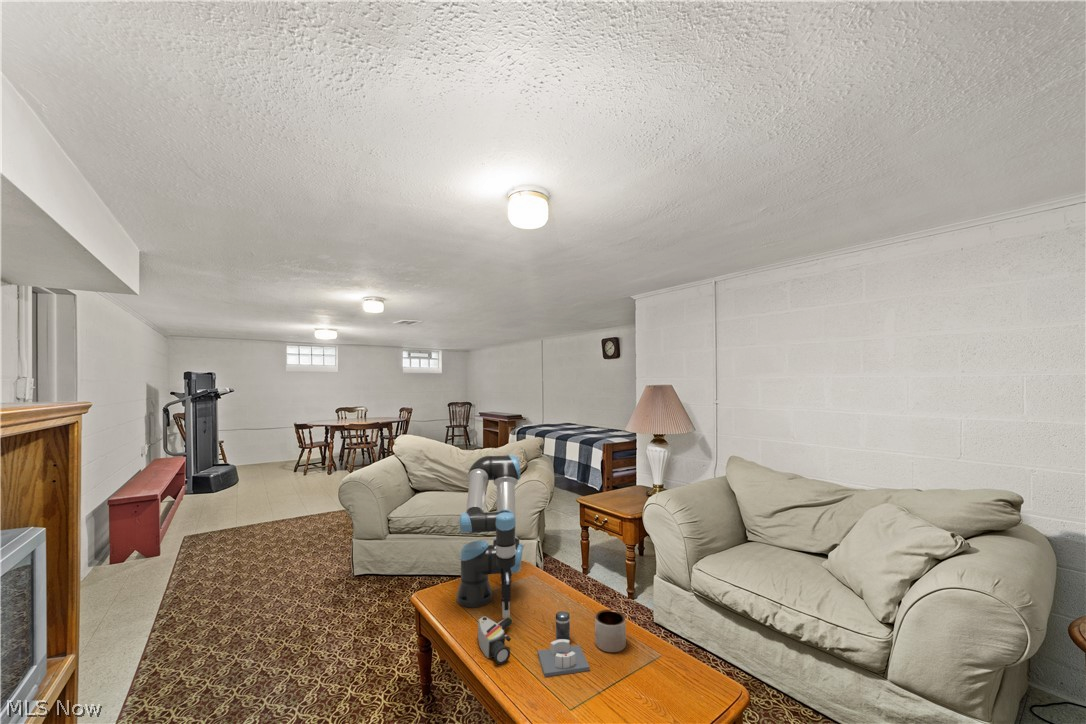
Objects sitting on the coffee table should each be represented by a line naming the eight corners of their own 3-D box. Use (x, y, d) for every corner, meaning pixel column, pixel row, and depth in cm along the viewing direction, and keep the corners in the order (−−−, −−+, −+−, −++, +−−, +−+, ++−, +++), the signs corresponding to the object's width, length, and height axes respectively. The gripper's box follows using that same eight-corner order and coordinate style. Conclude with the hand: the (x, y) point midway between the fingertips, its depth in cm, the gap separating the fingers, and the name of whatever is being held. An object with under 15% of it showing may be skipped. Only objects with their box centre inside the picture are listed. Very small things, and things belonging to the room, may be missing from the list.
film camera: (533, 655, 154) (493, 669, 147) (508, 625, 171) (472, 636, 164) (533, 635, 154) (493, 648, 147) (509, 607, 171) (472, 618, 164)
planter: (629, 639, 162) (628, 613, 162) (621, 657, 152) (621, 628, 152) (600, 632, 166) (600, 606, 167) (591, 649, 156) (590, 621, 157)
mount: (537, 654, 154) (537, 639, 154) (579, 648, 157) (579, 634, 157) (544, 677, 142) (544, 661, 142) (589, 670, 145) (589, 655, 145)
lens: (554, 636, 164) (554, 611, 164) (568, 635, 165) (567, 610, 165) (557, 645, 159) (557, 619, 159) (571, 643, 160) (571, 617, 160)
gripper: (494, 549, 178) (494, 609, 178) (497, 562, 166) (498, 627, 165) (513, 547, 180) (513, 607, 179) (517, 560, 167) (518, 624, 166)
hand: (506, 616), depth 172 cm, fingers closed
